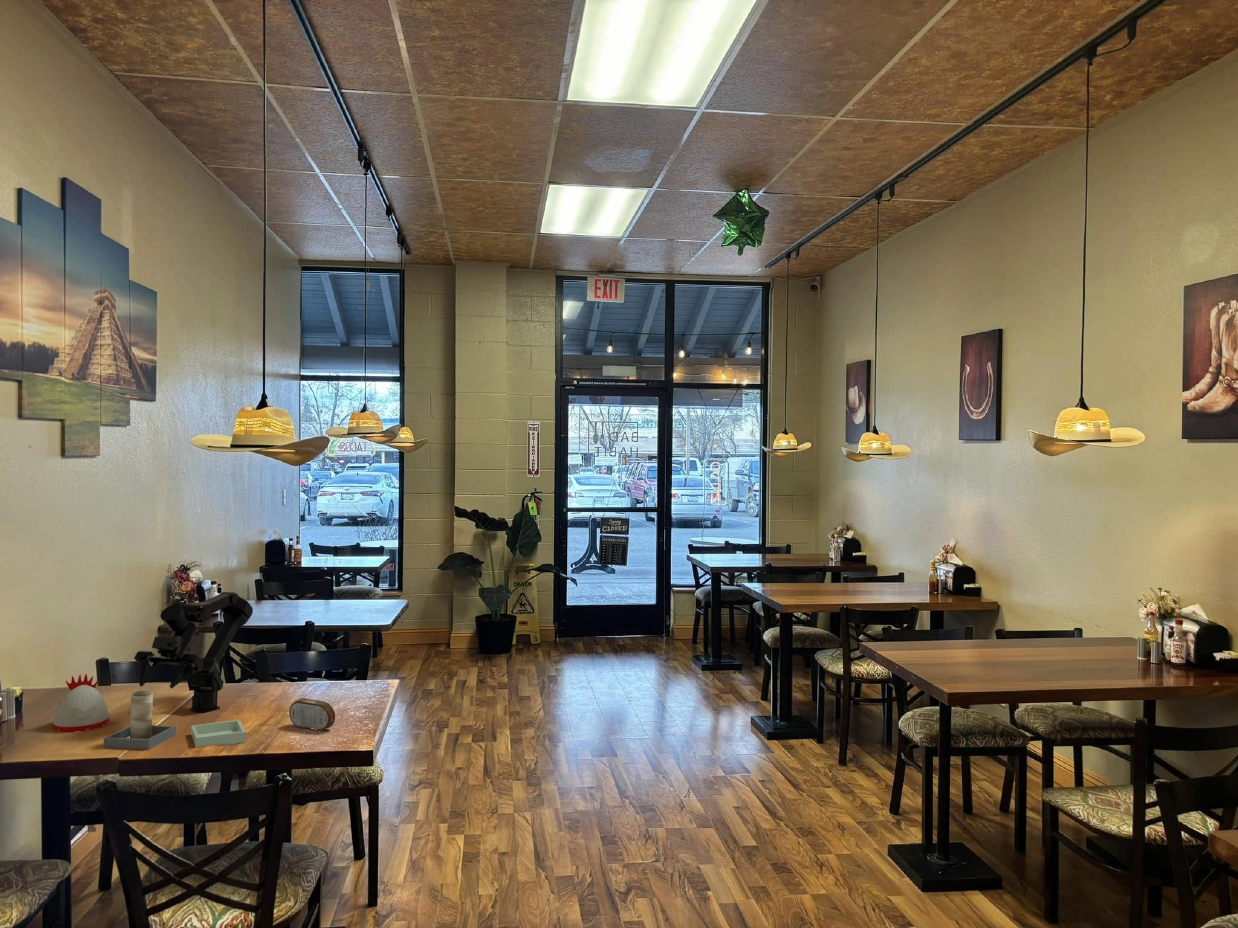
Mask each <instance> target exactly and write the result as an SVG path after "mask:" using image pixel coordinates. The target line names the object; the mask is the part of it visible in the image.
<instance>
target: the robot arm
mask: <svg viewBox="0 0 1238 928" xmlns="http://www.w3.org/2000/svg"><path fill="white" fill-rule="evenodd" d="M218 611H221V613H222V614H221V616H222V620H223V622H222V624H221V626H220V628H219V629H218V631H217V634H216V635H215V637H214V638H213V641H212V642H211V645H210V646H209V648H208V650H207V652H206V653H205V655H204V657H203V658H202V659H201V657H200V655H198V653H189V652H190V650H191V647H190V644H191V643H192V641H193V638H194V637H195V636H196V637H199V636H200V630H199V627H198V626H196V625H195V624H205V623H206V622H207V621H208V620H210V619H211V618H212V615H213V614H214V613H216V612H218ZM253 611H254V608H253V606H252V605H251V604H250V602H249V601H248V600H246V599H244V598H243V597H240V596H239V594H237V593H236V592H233V591H232V592H231V591H223V592H220V593H219V594H217V595H214V596H212V597H210V598H208V599H205V600H203V601H201V602H190V603H189V602H188V603H185V604H184V605H182V603H181V602H173V603H172V605H169V606H167V607H165V608H164V609H163V610H161V613H160V619H161V620H162V622H163V623H164V624H165V625H166V626H165V627H167V628H168V629H169V631H170V632H172V634H171V636H170V637H166V636H154V639H153V642H152V644H151V649H156V650H157V651H156V652H157V653H158V654H159V655H160V656H159V655H158V656H157V655H155V653H153V652H152V651H151V650H138V651H137V652H136V654H135V655H134V658H133V659H134V660H135V661H136V662H137V664H138V665H139V666H140V678H139V686H140V687H143V686H144V685H146V683H147V682H148V680H149V678H151V676H152V675H153V673H154V672H155V668H156V667H157V665H158V664H165V665H167V664H168V665H178V667H177V671H176V672H175V674H174V676H173V678H172V680H171V682H170V684H169V688H170V689H173V688H175V687H176V686H177V685H179V684H180V683H182V682H183V681H184V680H185V679H186V681H187V686H188V691H189V692H190V691H191V692H192V691H193V696H192V697H191V699H192V700H191V707H189V710H190V711H194V712H199V713H201V714H202V713H206V712H210V711H211V712H212V711H214V710H219V709H221V706H219V705H218V692H219V691H222V689H223V687H224V680H223V679H222V677H221V676H220V674H221V670H220V663H221V662H222V659H223V657H224V656H225V654H226V652H227V650H228V649H229V646H230V644H231V642H232V641H233V638H234V637H235V635H236V633H237V631H238V629H239V628H242V627H243V626H244V625H246V624H247V623H248V621H249V620H250V618H251V617H252V616H253V613H254V612H253Z"/></svg>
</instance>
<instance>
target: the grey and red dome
mask: <svg viewBox="0 0 1238 928" xmlns="http://www.w3.org/2000/svg"><path fill="white" fill-rule="evenodd" d="M93 679H94V677H93V676H91V677H90V679H89V680H88V675H87V673H85V675H84V677H83V680H82V675H81V674H79V675H78V678H77V681H75V678H74V676H73V675H71V680H70V681H71V682H70V683H69V681H68V680H65V683H66V685H67V688H68V689H69V691H68V692H67V693H66V694H65V695H63V698H62V699H61V700H60V701H58V703H57V707H56V710H55V713H54V717H53V720H52V730H53V731H54V732H58V731H60V732H59V733H76V732H75V731H82V732H87V730H88V731H93V730H96V729H95V728H97V729H100V728H102V727H101V726H103V725H105V726H107V725H108V724H109V723H108V722H110V713H109V708H108V706H107V703H106V701H105V699H104V697H103V695H102V694H101V692H100V691H99V690H98V689H97V688H96V687H97V686H98V684H99V679H98V680H95V681H96V682H94V683H93ZM92 683H93V684H92ZM107 723H108V724H107ZM106 724H107V725H106ZM99 727H100V728H99ZM103 727H104V726H103Z"/></svg>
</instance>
